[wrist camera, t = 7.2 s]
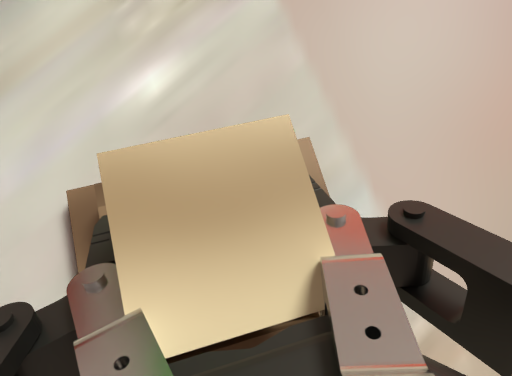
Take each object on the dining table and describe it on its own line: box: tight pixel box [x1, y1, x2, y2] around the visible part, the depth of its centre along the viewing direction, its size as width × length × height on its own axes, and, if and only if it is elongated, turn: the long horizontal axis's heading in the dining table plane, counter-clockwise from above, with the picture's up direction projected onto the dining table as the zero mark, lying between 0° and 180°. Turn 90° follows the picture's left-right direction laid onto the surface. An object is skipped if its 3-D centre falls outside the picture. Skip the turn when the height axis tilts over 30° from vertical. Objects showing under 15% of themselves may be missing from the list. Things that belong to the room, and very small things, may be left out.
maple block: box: [97, 114, 335, 359], centre depth 12 cm, size 4×4×9 cm
